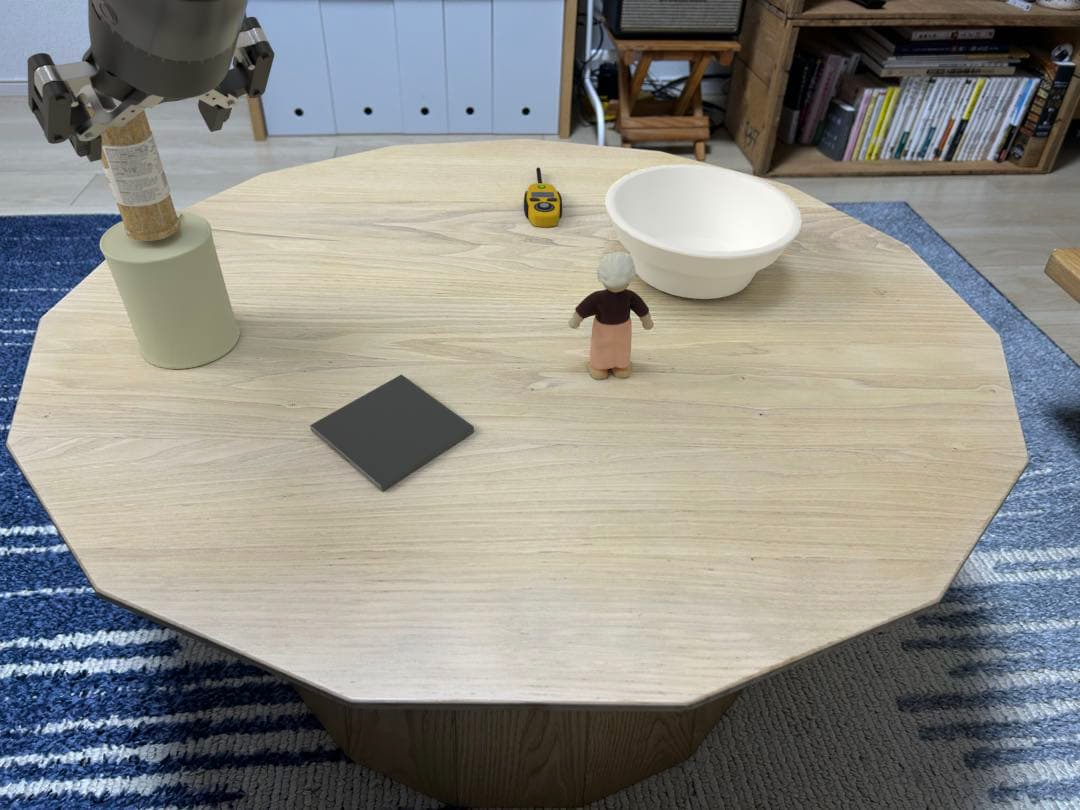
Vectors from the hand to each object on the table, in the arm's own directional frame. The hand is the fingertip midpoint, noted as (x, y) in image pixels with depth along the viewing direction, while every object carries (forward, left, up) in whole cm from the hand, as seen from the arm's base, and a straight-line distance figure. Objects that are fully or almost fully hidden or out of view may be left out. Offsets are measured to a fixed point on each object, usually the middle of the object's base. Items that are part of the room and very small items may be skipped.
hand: (150, 133), depth 55 cm
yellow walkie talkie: (+45, +18, -24) cm, 54 cm away
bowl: (+51, -5, -24) cm, 56 cm away
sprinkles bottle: (-1, +8, -12) cm, 14 cm away
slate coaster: (+11, -13, -23) cm, 29 cm away
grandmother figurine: (+32, -15, -24) cm, 42 cm away
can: (-1, +8, -24) cm, 25 cm away
